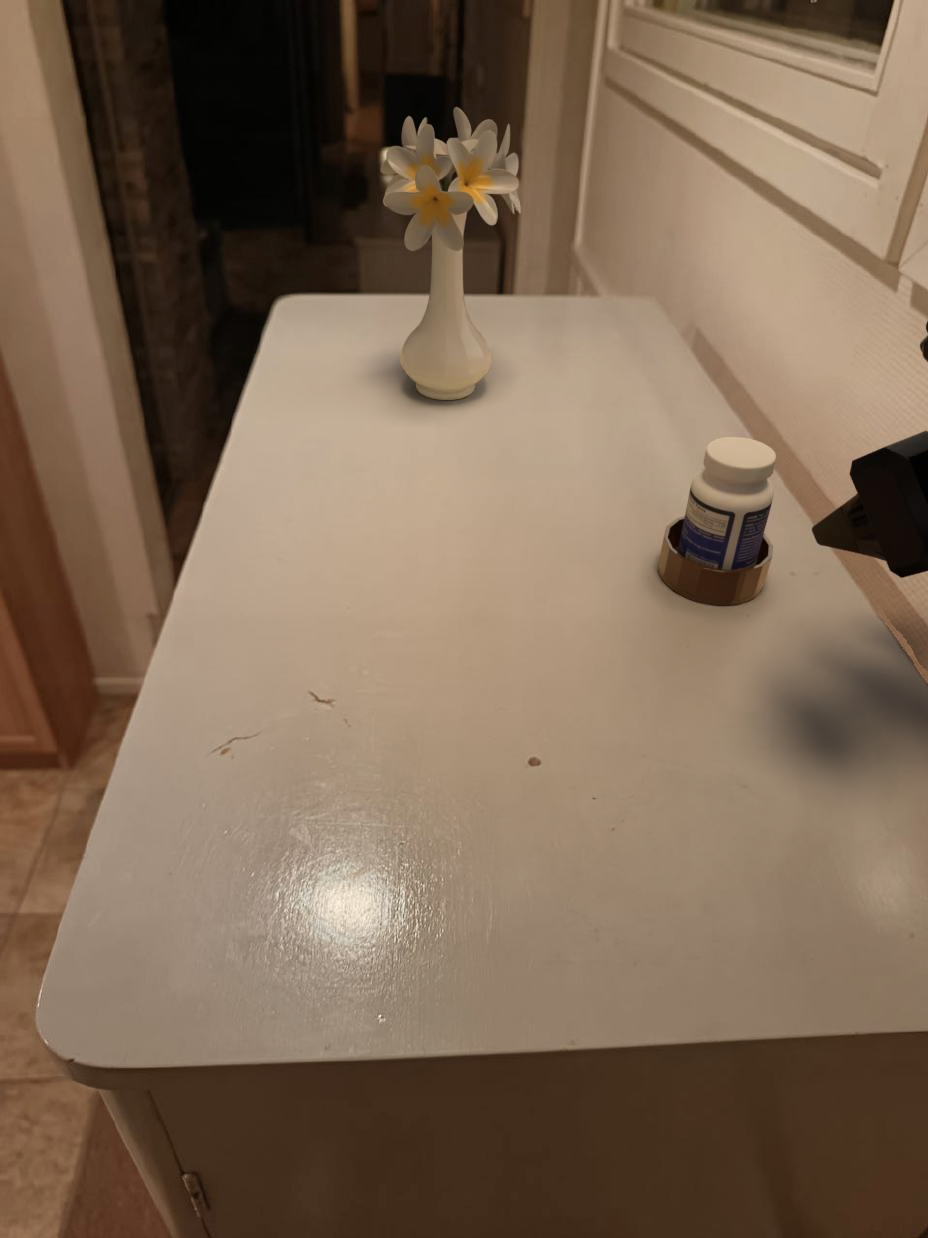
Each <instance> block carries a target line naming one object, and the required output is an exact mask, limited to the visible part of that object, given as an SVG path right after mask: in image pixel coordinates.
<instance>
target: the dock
mask: <svg viewBox="0 0 928 1238" xmlns="http://www.w3.org/2000/svg"><path fill="white" fill-rule="evenodd" d="M684 518H685V515H684V516H680V517H677V518H676V519H674V520H673V521H672V522H670V523H669V524H668V525H666V527H665V531H664V535H663V539H662V543H661V544H662V545H661V550H660V554H659V560H658V567H657V569H658V573H659V576H660V578H661V580H662V581H663V582H664V584H665V585H666V586H667V587H668V588H670V589H671V590H672V591H674V592H675V593H676V594H678V595H680V596H682V597H684V598H686V599H689V600H691V601H695V602H697V603H702V604H706V605H712V606H734V605H739V604H744V603H747V602H748V601H751V600H753V599H754V598H756V597H757V596H758V595H759V594H760V593H761V591H762V589H763V586H765V583H766V579H767V577H768V572H769V569H770V565H771V562H772V559H773V551H774V550H773V549H774V547H773V543H772V542H771V541H770V539H769V538H768V536H767V535H766V533H764V535H763V539H762V542H761V546H760V550H759V554H758V558H757V561H756V565H755V566H753V567H750V568H746V569H739V570H722V569H717V568H711V567H706V566H702V565H700V564H698V563H695V562H693V561H691V560H688V559H686V558H685V557H683V556H682V555H681V554H680V553H678V547H679V542H680V537H681V533H682V528H683V523H684Z"/></svg>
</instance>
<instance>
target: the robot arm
mask: <svg viewBox="0 0 928 1238" xmlns="http://www.w3.org/2000/svg"><path fill="white" fill-rule="evenodd" d="M925 331H926V333H927V334H926V336H924V338H922V340H921V341H920V343H919V349H920V351H921V354H922V357H923V359H924V360H925V362H927V363H928V320H927V321H926V324H925ZM849 477H850V479H851V481H852V484H853V486H854V489H855V490H856V494H855V495H853V496H852V497H851V498H849V499H848V500H846V501H845V502H844V503H842V504H841V505H840V506H839V507H837V508H836V509H834V510H833V511H832V512H831V513H829V514H828V515H827V516H825V517H824V518H823V519H821V520H819V521H818V522H817V523H815V524H814V525H813V526H812V527H811V532H812V534H813V537H814V539H815V541H816V544H818V545H819V546H823V547H828V548H831V549H837V550H841V551H844V552H850V553H855V554H859V555H863V556H867V557H870V558H873V559H878V560H881V561H884V562H886V565H887V567H888V570H889V572H891V573H892V574H895V575H896V576H898V577H899V578H900V579H903V578H907V577H910V576H914V575H919V574H923V573H926V572H928V430H923V431H921V432H918V433H916V434H913V435H910V436H908V437H905V438H903V439H900V440H898V441H896V442H893V443H890V444H888V445H885V446H883V447H880V448H878V449H876V450H874V451H872V452H869V453H867V454H865V455H863V456H860V457H858V458H855V459H853V460H851V464H850V470H849Z"/></svg>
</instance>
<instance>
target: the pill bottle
mask: <svg viewBox="0 0 928 1238" xmlns="http://www.w3.org/2000/svg"><path fill="white" fill-rule="evenodd" d="M776 460H777V455H776V452H775V451H774V449H772V448H771V447H770V446H769V445H767V444H765V443H763V442H761V441H759V440H755V439H753V438H748V437H742V436H741V437H740V436H728V437H727V436H725V437H719V438H716V439H713V440H712V441H710V442H709V443H708V444H707V445H706V448H705V453H704V457H703V466H704V467H703V468H702V469H701V470H699V471H698V472H697V473H696V474H695V475H694V477H693V478H692V481H691V483H690V486H689V487H690V488H689V492H688V498H687V503H686V509H685V513H684V514H685V515H684V516H685V518H684V523H683V528H682V533H681V537H680V542H679V547H678V553H680V554H681V555H682V556H683V557H685V558H686V559H688V560H691V561H693V562H695V563H698V564H700V565H702V566H706V567H711V568H717V569H722V570H739V569H746V568H750V567H753V566H755V565H756V561H757V558H758V554H759V550H760V546H761V542H762V539H763V535H764V534H765V531H766V528H767V527H766V526H767V523H768V520H769V516H770V512H771V509H772V504H773V500H774V487H773V484H772V483H771V481H770V480H769V478H770V477H771V476H772V475H773V474H774V471H775V464H776Z"/></svg>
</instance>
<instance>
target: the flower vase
mask: <svg viewBox="0 0 928 1238" xmlns="http://www.w3.org/2000/svg"><path fill="white" fill-rule="evenodd" d="M453 119H454V123H455V127H456V132H457V137H450V138H448V140H447V141H446V143H445V142H444V141H443V140H440V139H437V138H436V137H435V130H434V127H433V126H432V124H428V118H427V117H424V118H422V120H421V123H420V124H419V127H418V130H416V126H415V122H414V120H413V118H412V116H410V115H408V116H407V117H406V118H405V119H404V122H403V124H402V130H401V145H402V146H399V145H393V146H390V147H389V148H388V149H387V151H386V153H385V159H384V160H383V162H382V164H381V165H380V173H382V174H383V175H391V174H393V175H394V174H395V175H394V176H393V177H392V178H391V179H390V181H389V182H388V184H387V186H386V189H385V191H384V195H383V196H384V197H383V198H382V199H383V200H382V203H383V206H384V207H387V208H388V209H389V210H391V211H392V212H394V213H396V214H399V215H403V216H411V215H413V216H412V218H411V220H410V221H409V223H408V225H407V227H406V229H405V233H404V246H405V248H406V249H407V250H409V251H411V252H414V251H415V252H416V251H418V250H420V249H421V248H423V247H424V246H425V245H426V243H427V242H428V241H429V239H430V238H431V262H430V263H431V265H430V285H429V295H428V302H427V305H426V309H425V312H424V314H423V317H422V319H421V321H420V322H419V324H417V326H416V327H415V328H414V329H413V330H412V331H410V333H409V334H408V335H407V337H406V338H405V340H404V343H403V344H402V347H401V349H400V355H399V359H400V360H399V361H400V364H401V367H402V369H403V371H404V372H405V374H407V376H408V377H409V378H410V379H411V380H412V381H413V382H414V383H415V387H416V390H417V392H419V394H421V395H422V396H425V397H427V398H429V399H433V400H438V401H439V400H440V401H453V400H454V401H455V400H459V399H460V400H461V399H463V398H466V397H468V396H470V395H472V393H474V391H475V388H476V384H477V383H478V382H480V381H481V380H482V379H483V378H484V376H485V375H486V374H487V373H488V372H489V369H490V367H491V364H492V352H491V349H490V346H489V344H488V342H487V340H486V339H485V337H484V335H483V334H482V333H481V332H480V331H479V330H478V329H477V328H476V327H475V326H474V324H473V322H472V321H471V318H470V316H469V313H468V309H467V306H466V301H465V300H466V299H465V292H464V291H465V290H464V245H465V242H464V235H465V227H466V221H467V215H468V212H469V211H470V210H471V209H472V208H473V207H475V209H476V210H477V212H478V214H479V216H480V217H481V218H482V220H483V221H484V223H486V224H487V225H489V226H495V225H496V224H497V222H498V219H499V217H498V216H499V215H498V214H499V212H498V208H497V205H496V202H495V199H494V198H493V197H492V196H491V195H500V196H501V197H502V198H503V200H504V202H505V203H506V204H507V206H508V207H509V210H510V211H511V213H512V214H513V215H515V210H516V211H517V212H518V213H519V214H521V213H522V206H521V201H520V197H519V194H518V192H517V190H518V189H519V187H520V181H519V178H518V177H517V174H518V173H519V172H518V171H519V157H518V154H517V153H516V152H512V153H510V154H509V155H508V153H509V149H510V144H511V142H510V141H511V125H510V123H508V124H507V126H506V129H505V133H504V136H503V139H502V141H501V144H500V147H499V149H498V139H497V138H498V126H497V123H496V122H495V121H494V120H493V119H485V120H483V121H481V122H480V123H479V124H478V125H477V127H476V128H475V130H474V131H473V133H472V125H471V123H470V121H469V118H468V116H467V115H466V114H465V112H464V111H463V110H462V109H461V108H460V107H457V106H455V107H454V108H453ZM507 155H508V156H507ZM454 173H456V175H457V176H456V177H455V178H454V179H453V174H454ZM452 179H453V180H452Z"/></svg>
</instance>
